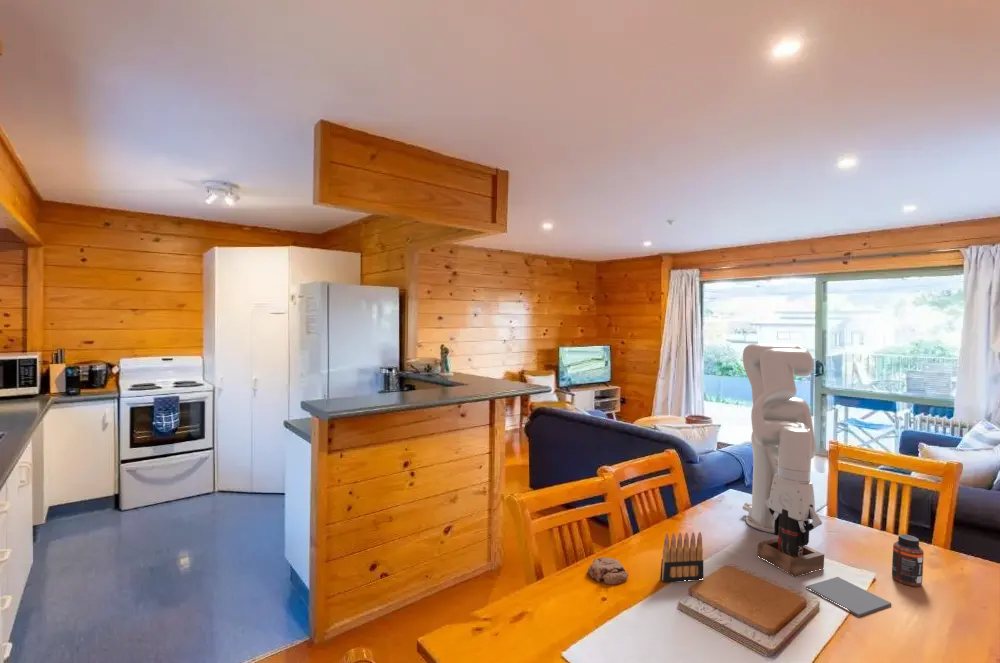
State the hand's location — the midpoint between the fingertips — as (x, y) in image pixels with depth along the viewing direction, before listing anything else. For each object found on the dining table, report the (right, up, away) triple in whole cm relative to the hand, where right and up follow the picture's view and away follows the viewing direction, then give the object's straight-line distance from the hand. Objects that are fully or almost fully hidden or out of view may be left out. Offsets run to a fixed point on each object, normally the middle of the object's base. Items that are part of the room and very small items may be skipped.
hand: (790, 538), depth 130 cm
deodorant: (0, -7, 0) cm, 7 cm away
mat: (+4, -7, -15) cm, 17 cm away
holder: (0, -7, 0) cm, 7 cm away
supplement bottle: (+25, -8, -8) cm, 27 cm away
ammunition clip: (-33, -6, -9) cm, 35 cm away
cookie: (-51, -6, -7) cm, 52 cm away
